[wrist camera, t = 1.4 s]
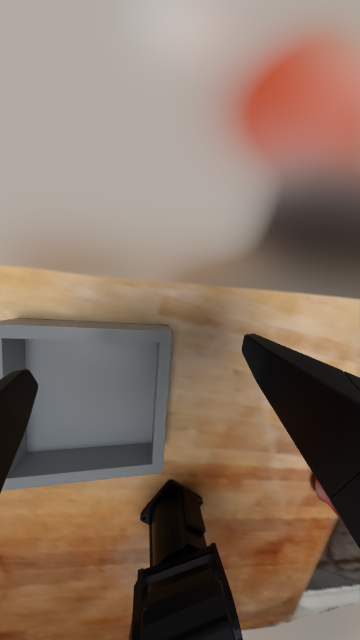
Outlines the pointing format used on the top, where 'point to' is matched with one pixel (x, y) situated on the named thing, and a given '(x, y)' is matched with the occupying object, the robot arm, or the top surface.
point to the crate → (89, 399)
